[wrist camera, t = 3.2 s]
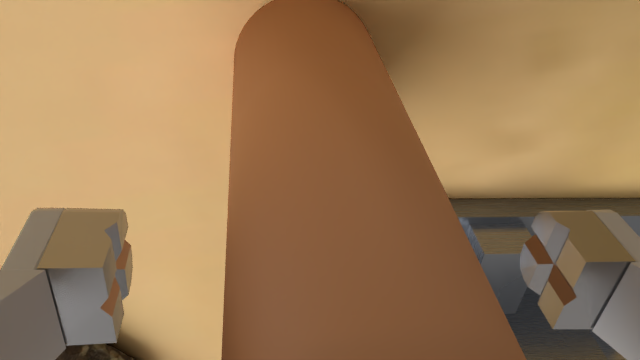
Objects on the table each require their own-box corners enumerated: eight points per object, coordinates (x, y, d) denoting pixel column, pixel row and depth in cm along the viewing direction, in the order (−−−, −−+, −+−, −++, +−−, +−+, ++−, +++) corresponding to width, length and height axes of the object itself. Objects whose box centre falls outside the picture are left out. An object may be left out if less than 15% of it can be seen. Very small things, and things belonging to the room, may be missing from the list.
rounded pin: (233, -11, 14) (212, 336, 5) (382, -3, 15) (588, 322, 6) (234, 122, 16) (222, 515, 8) (363, 124, 17) (489, 493, 8)
